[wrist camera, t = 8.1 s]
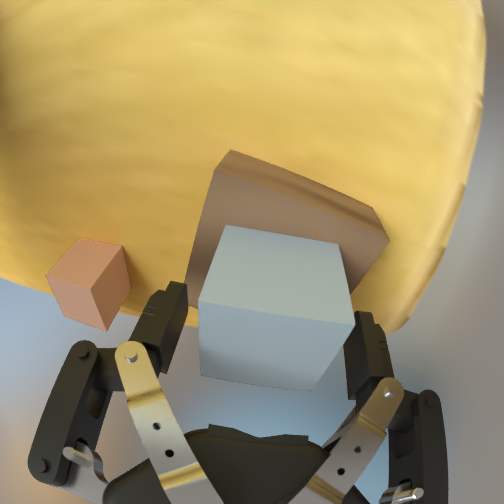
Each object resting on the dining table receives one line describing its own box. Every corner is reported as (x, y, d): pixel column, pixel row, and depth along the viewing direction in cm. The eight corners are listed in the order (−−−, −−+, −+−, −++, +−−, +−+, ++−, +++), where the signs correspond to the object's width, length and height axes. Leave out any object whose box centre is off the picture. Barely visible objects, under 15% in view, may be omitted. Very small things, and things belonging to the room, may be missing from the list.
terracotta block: (79, 237, 20) (45, 275, 16) (122, 245, 20) (90, 289, 15) (91, 277, 22) (64, 316, 18) (131, 287, 22) (106, 331, 18)
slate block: (225, 224, 13) (198, 300, 9) (338, 244, 13) (355, 324, 9) (219, 303, 16) (200, 375, 12) (309, 318, 16) (311, 391, 12)
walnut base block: (231, 147, 15) (214, 169, 12) (370, 204, 16) (389, 240, 12) (196, 263, 20) (179, 302, 17) (308, 301, 21) (309, 342, 18)
